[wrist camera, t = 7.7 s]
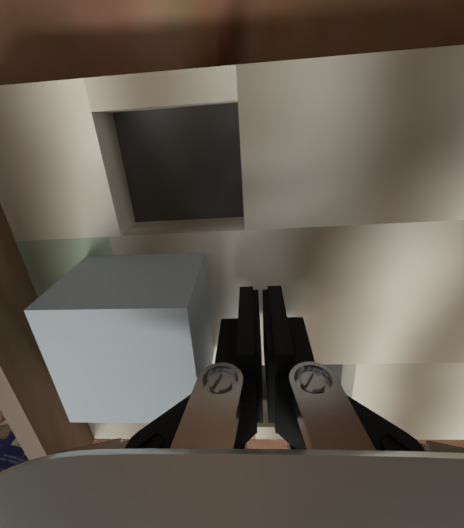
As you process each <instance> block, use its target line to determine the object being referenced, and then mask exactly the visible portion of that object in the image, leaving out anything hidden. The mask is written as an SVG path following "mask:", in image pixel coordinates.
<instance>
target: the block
mask: <svg viewBox="0 0 464 528" xmlns="http://www.w3.org/2000/svg"><path fill="white" fill-rule="evenodd" d="M24 312H25V315H26V317H27V320H28V322H29V325H30V327H31V329H32V332H33V334H34V337H35V339H36V342H37V344H38V346H39V349H40V351H41V354H42V356H43V358H44V361H45V363H46V366H47V368H48V371H49V373H50V375H51V378H52V380H53V383H54V385H55V387H56V390H57V392H58V395H59V397H60V400H61V402H62V404H63V407H64V409H65V412H66V414H67V417H68V419H69V421H70V422H79V423H151V422H152V421H153V420H155V419H156V418H158V417H159V416H161V415H162V414H163V413H165V412H166V411H168V410H169V409H170V408H172V407H173V406H175V405H176V404H178V403H179V402H180V401H182V400H183V399H185V398H186V397H187V396H189V395H190V394H191V393H192V391H193V388H194V385H195V383H196V380H197V378H198V376H199V374H200V372H201V371H202V370H203V369H204V368H206V367H207V366H209V365H211V364H212V360H213V354H214V340H213V330H212V320H211V310H210V299H209V289H208V279H207V269H206V259H205V253H177V254H140V255H104V256H86V257H85V258H84V259H83V260H81V261H80V262H79V263H78V264H77V265H76V266H74V267H73V268H72V269H71V270H70V271H69V272H67V273H66V274H65V275H64V276H63V277H62V278H61V279H59V280H58V281H57V282H56V283H55V284H54V285H52V286H51V287H50V288H49V289H48V290H47V291H45V292H44V293H43V294H42V295H41V296H40V297H39V298H37V299H36V300H35V301H34V302H33V303H32V304H30V305H29V306H28V307H27V308H26V309H25V310H24Z"/></svg>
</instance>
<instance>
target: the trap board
mask: <svg viewBox="0 0 464 528" xmlns="http://www.w3.org/2000/svg"><path fill="white" fill-rule="evenodd" d="M177 253H205V259H206V269H207V279H208V289H209V299H210V310H211V320H212V330H213V340H214V354H213V360H212V364H215V358H216V351H217V344H218V336H219V329H220V322H221V319H229V318H238V308H239V289H240V287H247V286H253V290H258V294H259V313H260V332H261V351H262V387H263V423H257V433H256V434H255V435H254V436H253V437H252V438H251V439H283V438H282V437H281V436H280V435H279V434H278V433H275V424H274V423H268V410H267V394H266V378H265V363H264V345H263V297H262V290H265V289H267V287H268V286H281V288H282V293H283V298H284V303H285V309H286V314H287V317H303V319H304V323H305V327H306V330H307V334H308V338H309V341H310V345H311V349H312V353H313V356H314V360H315V362H316V363H320V364H323V365H325V366H327V367H328V368H329V369H331V370H332V371H333V372H334V374H335V375H336V376H337V378H338V380H339V382H340V384H341V386H342V388H343V390H344V391H345V393H346V395H347V396H349V397H351V398H352V399H354V400H355V401H357V402H359V403H360V404H362V405H363V406H365V407H367V408H368V409H370V410H372V411H373V412H375V413H376V414H378V415H380V416H381V417H383V418H384V419H386V420H388V421H389V422H391V423H392V424H394V425H396V426H397V427H399V428H400V429H402V430H404V431H405V432H407V433H408V434H410V435H411V436H412V437H413V438H415V439H416V440H464V45H454V46H443V47H431V48H420V49H409V50H397V51H386V52H374V53H363V54H351V55H340V56H329V57H317V58H306V59H294V60H283V61H272V62H260V63H249V64H237V65H226V66H214V67H203V68H192V69H180V70H169V71H157V72H146V73H135V74H123V75H112V76H100V77H89V78H77V79H66V80H55V81H43V82H32V83H20V84H9V85H0V410H1V412H2V414H3V416H4V417H5V419H6V421H7V423H8V424H9V426H10V428H11V430H12V431H13V433H14V435H15V437H16V439H17V440H18V442H19V444H20V446H21V447H22V449H23V451H24V453H25V454H26V456H27V458H28V460H32V459H35V458H39V457H43V456H47V455H50V454H52V453H55V452H58V451H63V450H67V449H72V448H77V447H81V446H86V445H91V444H92V442H93V440H94V439H119V438H121V439H131V437H132V436H133V435H135V434H136V433H137V432H138V431H139V430H141V429H142V428H144V427H145V426H146V425H148V424H149V423H79V422H70V421H69V419H68V417H67V414H66V412H65V409H64V407H63V404H62V402H61V400H60V397H59V395H58V392H57V390H56V387H55V385H54V383H53V380H52V378H51V375H50V373H49V371H48V368H47V366H46V363H45V361H44V358H43V356H42V354H41V351H40V349H39V346H38V344H37V342H36V339H35V337H34V334H33V332H32V329H31V327H30V325H29V322H28V320H27V317H26V315H25V312H24V310H25V309H26V308H27V307H28V306H29V305H30V304H32V303H33V302H34V301H35V300H36V299H37V298H39V297H40V296H41V295H42V294H43V293H44V292H45V291H47V290H48V289H49V288H50V287H51V286H52V285H54V284H55V283H56V282H57V281H58V280H59V279H61V278H62V277H63V276H64V275H65V274H66V273H67V272H69V271H70V270H71V269H72V268H73V267H74V266H76V265H77V264H78V263H79V262H80V261H81V260H83V259H84V258H85V257H86V256H104V255H140V254H177Z"/></svg>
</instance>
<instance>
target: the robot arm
mask: <svg viewBox="0 0 464 528" xmlns="http://www.w3.org/2000/svg"><path fill="white" fill-rule="evenodd" d="M262 297H263V345H264V363H265V378H266V394H267V410H268V423H274V424H275V433H278V434H279V435H280V436H281V437H282V438H283V439H285V440H286V441H287V447H288V449H247V442H248V441H249V440H250V439H251V438H252V437H253V436H254V435H255V434H256V433H257V423H263V387H262V351H261V332H260V313H259V294H258V290H253V286H247V287H240V289H239V308H238V318H229V319H221V322H220V329H219V336H218V344H217V351H216V358H215V364H211V365H209V366H207V367H206V368H204V369H203V370H202V371H201V372H200V374H199V376H198V378H197V380H196V383H195V385H194V388H193V391H192V393H191V394H190V395H189V396H187V397H186V398H185V399H183V400H182V401H180V402H179V403H178V404H176V405H175V406H173V407H172V408H170V409H169V410H168V411H166V412H165V413H163V414H162V415H161V416H159V417H158V418H156V419H155V420H153V421H152V422H151V423H149V424H148V425H146V426H145V427H144V428H142V429H141V430H139V431H138V432H137V433H136V434H135V435H133V436H132V437H131V439H130V440H128V441H124V442H122V439H121V438H119V439H114V440H109V441H105V442H100V443H95V444H91V445H86V446H81V447H77V448H72V449H67V450H63V451H58V452H55V453H52V454H50V455H47V456H43V457H39V458H35V459H32V460H29V461H26V462H24V463H21V464H18V465H15V466H12V467H10V468H8V469H6V470H3V471H1V472H0V528H464V448H462V447H457V446H452V445H447V444H442V443H438V442H433V441H428V440H427V442H426V444H422V443H419V442H418V441H417V440H416V439H415V438H413V437H412V436H411V435H410V434H408V433H407V432H405V431H404V430H402V429H400V428H399V427H397V426H396V425H394V424H392V423H391V422H389V421H388V420H386V419H384V418H383V417H381V416H380V415H378V414H376V413H375V412H373V411H372V410H370V409H368V408H367V407H365V406H363V405H362V404H360V403H359V402H357V401H355V400H354V399H352V398H351V397H349V396H347V395H346V393H345V391H344V390H343V388H342V386H341V384H340V382H339V380H338V378H337V376H336V375H335V374H334V372H333V371H332V370H331V369H329V368H328V367H327V366H325V365H323V364H320V363H316V362H315V360H314V356H313V353H312V349H311V345H310V341H309V338H308V334H307V330H306V327H305V323H304V319H303V317H287V314H286V309H285V303H284V298H283V293H282V288H281V286H268V287H267V289H265V290H262Z"/></svg>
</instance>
